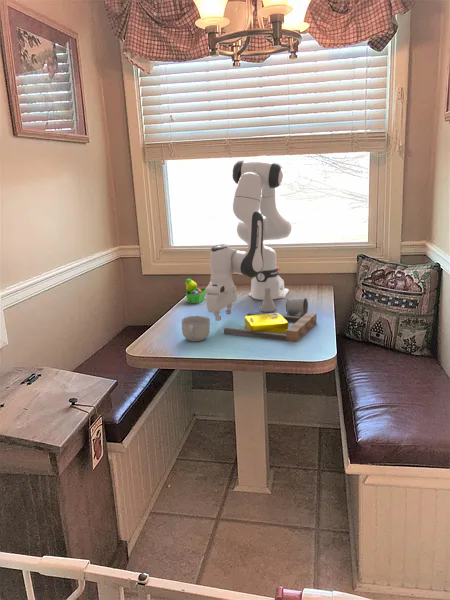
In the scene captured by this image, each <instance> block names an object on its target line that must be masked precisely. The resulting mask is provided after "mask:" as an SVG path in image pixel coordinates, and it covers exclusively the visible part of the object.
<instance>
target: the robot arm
mask: <svg viewBox="0 0 450 600" xmlns="http://www.w3.org/2000/svg"><path fill="white" fill-rule="evenodd" d="M232 180H233V181H234V183H235V184H237V185H236V188H235V192H234V198H233V203H232V209H233V210H232V211H233V214H234V216H235V217H236V218H237V219H238V220H239V222H238V224H237V227H236V232H237V233H236V234H237V236H238V237H239V238H240V239H241V240H242V241H243V242H244V243H246V244H247V245H248V246H247V250H246V251H244V250H239V249H235V248H232V247H231V246H229V244H225V243H221V244H216V245H214V246H213V247H212V248H210V251H209V270H210V281H209V283H208V284H207V286H206V287H205V288H206V289H205V294H206V296H205V297H206V300H205V301H206V308H207V309H206V310H207V312H208V313H212V314H213V315H214V318H215V321H216V322H220V321H221V320H222V316H221V315H220V311H221V310H223V309H225V308H226V310H225V313H226V315H231V314H232V309H233V303H235V302H236V301H237V299H238V295H237V286H236V285H235V282H234V281H233V274H237V275H242V276H245V277H249V278H251V280H250V281H251V283H250V284H251V285H250V292H249V293H248V296H249V297H251V298H252V299H255V300H258V301H259V300H260V301H263V299H264V295H265V290H264V288H271V297H272V300H277V299H285V298H286V296H287V294H288V293H289V291H290V290H289V288H286V287H285V281H284V279H282V277H281V276H280V273H279V272H280V270H281V268H280V266H277V265H278V263H277V261H278V258H277V252H276V250H275V249H273V248H272V247H270V246H267V245H265V244H264V241H271V240H272V241H273V240H274V241H275V240H281V239H285V238H287V237H289V236H290V234H291V232H292V222H291V221H290V219H289V218H288V217H286V216H285V215H283V214H282V213H281V212H280V210H279V209H278V204H277V188H279V186H281V184H282V182H283V180H284V168H283V167H282V165H281V164H280V163H278V162H271V161H265V160H246V159H242V160H241V159H240V160H237V161H236V162H235V163H234V165H233V168H232Z"/></svg>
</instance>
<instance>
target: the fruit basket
mask: <svg viewBox="0 0 450 600" xmlns="http://www.w3.org/2000/svg"><path fill="white" fill-rule="evenodd" d="M185 289H186V293H185V296H186V299H187V302H188V304H200V303H201V302H202V301H203V300H204V299H205V297H206V292H205V289H206V287H205V288H203V287H202V288H201V287H198V284H197V282H196V281H194V280H192V279H191V278H186V280H185Z"/></svg>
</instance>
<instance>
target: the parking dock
mask: <svg viewBox="0 0 450 600" xmlns="http://www.w3.org/2000/svg"><path fill="white" fill-rule="evenodd" d="M261 314H262V313H259V312H258V313H257V312H247V313H246V316H251V315H261ZM281 315H282V314H281ZM282 316H283V317H284V318H285V319H286V320H287V321H288V323H293V324H292V325H291V326H290V327H288V329H287V330H286V333H270V332H260V331H251V330H247V329H242V328H231V327H230V328H229V327H223V334H224V335H231V336H240V337H249V338H258V339H265V340H267V339H268V340H276V341H284V342H285V341H286V342H293V343H294V342H295V343H297V342H299V341H300V340H301V339H302V337H304V336H305V335H306V334H307V333H308V332H309V331H310V330H311V329H312V328H313V327H314V326H315V325H317V313H311V312H307V313H306V314H305V315H304V316H300V317H294V316H295V315H289V316H287V315H282Z"/></svg>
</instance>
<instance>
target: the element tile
mask: <svg viewBox="0 0 450 600" xmlns="http://www.w3.org/2000/svg"><path fill="white" fill-rule="evenodd" d="M260 314H261V315H251V316H247V315H246V316H244V327H245V330H251V331H260V332H270V333H280V334H286V330H287V329H289V322H288V321H287V320H286V319H285V318H284V317H283V316H284V315H283V316H282V314H280V313H279V312H274V313H273V312H269V313H260Z"/></svg>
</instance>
